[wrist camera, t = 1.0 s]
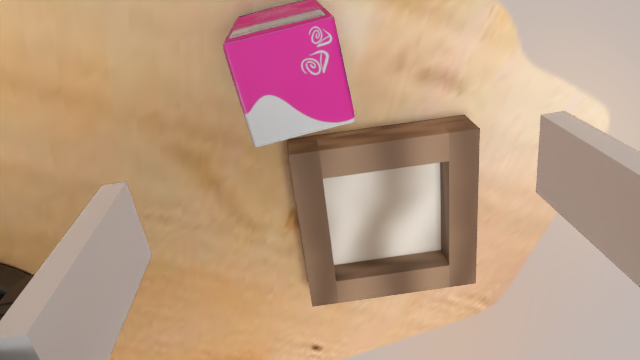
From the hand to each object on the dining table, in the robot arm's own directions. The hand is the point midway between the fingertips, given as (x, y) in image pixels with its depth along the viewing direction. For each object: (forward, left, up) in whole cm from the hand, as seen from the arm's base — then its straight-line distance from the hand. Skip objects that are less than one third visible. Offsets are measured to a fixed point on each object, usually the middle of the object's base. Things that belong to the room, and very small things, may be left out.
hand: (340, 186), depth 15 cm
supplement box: (-1, +1, -22) cm, 22 cm away
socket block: (+5, -13, -22) cm, 26 cm away
